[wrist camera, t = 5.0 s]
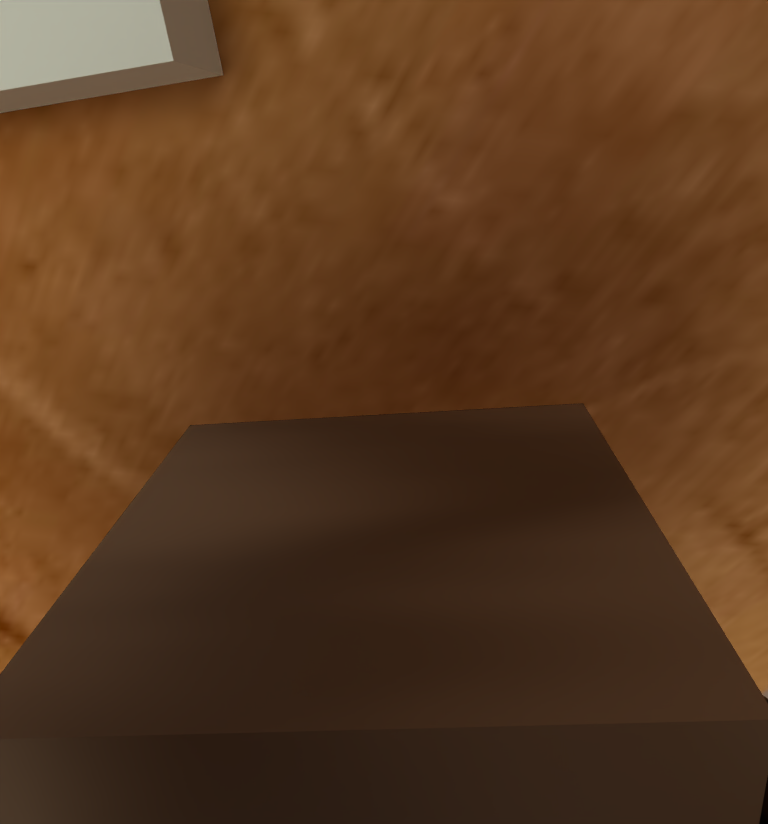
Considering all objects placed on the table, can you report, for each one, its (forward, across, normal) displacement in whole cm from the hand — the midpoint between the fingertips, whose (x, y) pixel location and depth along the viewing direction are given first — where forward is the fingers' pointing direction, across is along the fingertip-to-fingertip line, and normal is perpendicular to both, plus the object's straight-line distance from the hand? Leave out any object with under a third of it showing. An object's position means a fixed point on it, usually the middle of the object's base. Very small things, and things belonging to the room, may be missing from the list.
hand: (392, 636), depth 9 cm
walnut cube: (+1, 0, 0) cm, 1 cm away
